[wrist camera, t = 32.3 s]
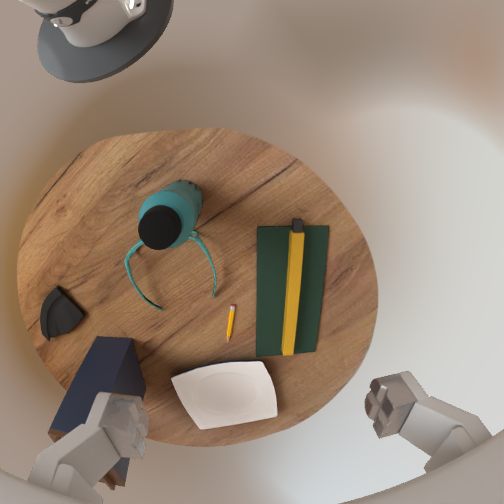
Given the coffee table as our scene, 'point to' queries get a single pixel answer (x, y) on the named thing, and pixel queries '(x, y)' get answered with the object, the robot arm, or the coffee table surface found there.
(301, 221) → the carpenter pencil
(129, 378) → the blue tall block
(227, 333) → the pencil
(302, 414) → the coffee table surface
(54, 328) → the curved wedge
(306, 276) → the rubber mat
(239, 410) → the plate
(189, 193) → the beverage bottle
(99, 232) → the coffee table surface
